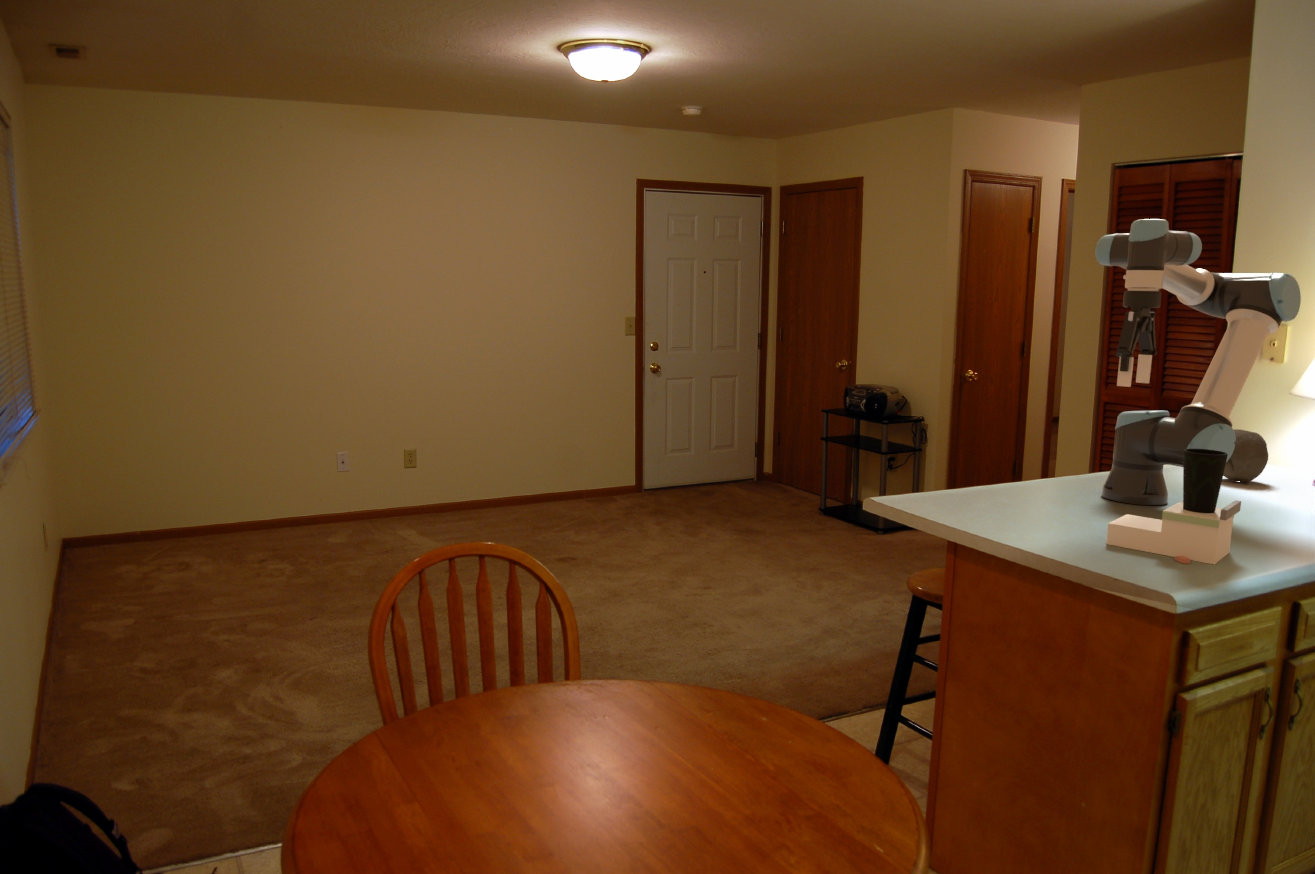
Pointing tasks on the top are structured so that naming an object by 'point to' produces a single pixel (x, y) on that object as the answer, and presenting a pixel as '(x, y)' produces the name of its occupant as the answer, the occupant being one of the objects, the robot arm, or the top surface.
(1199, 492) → the cup
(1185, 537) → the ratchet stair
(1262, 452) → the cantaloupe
